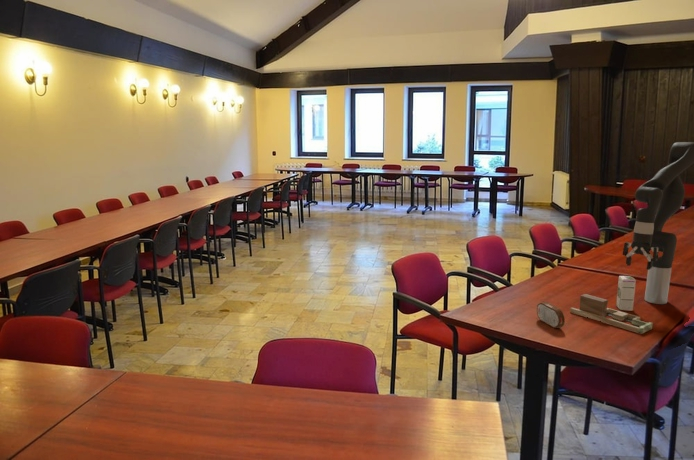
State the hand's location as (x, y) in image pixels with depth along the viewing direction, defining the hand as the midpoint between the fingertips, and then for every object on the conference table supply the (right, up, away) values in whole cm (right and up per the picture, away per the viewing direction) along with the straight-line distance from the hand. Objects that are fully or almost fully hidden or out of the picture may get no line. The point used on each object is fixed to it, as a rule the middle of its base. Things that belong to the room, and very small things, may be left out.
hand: (638, 267), depth 237 cm
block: (-24, -20, -7) cm, 32 cm away
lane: (-18, -21, -12) cm, 30 cm away
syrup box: (-6, -19, +1) cm, 20 cm away
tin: (-47, -23, -18) cm, 55 cm away
